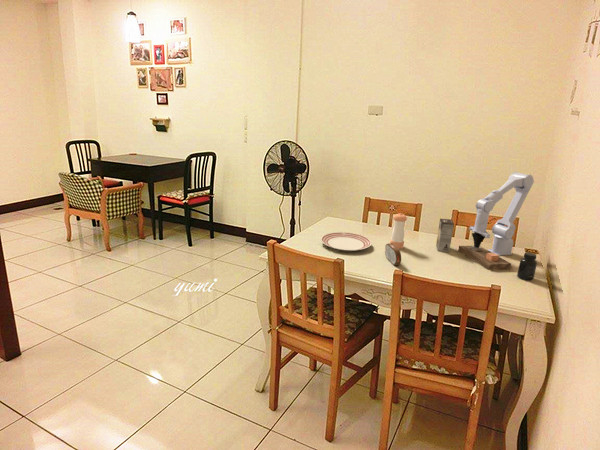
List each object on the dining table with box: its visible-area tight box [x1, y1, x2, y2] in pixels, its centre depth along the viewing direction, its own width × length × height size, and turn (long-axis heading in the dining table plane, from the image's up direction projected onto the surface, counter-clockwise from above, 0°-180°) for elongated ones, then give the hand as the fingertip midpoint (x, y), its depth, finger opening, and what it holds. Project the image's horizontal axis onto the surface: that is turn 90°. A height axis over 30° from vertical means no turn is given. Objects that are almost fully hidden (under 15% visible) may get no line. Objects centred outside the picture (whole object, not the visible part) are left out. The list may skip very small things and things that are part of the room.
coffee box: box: [435, 218, 455, 253], centre depth 215 cm, size 9×6×16 cm
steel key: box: [470, 245, 483, 252], centre depth 209 cm, size 4×4×3 cm
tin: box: [384, 242, 402, 266], centre depth 194 cm, size 15×3×8 cm, turn 9°
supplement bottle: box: [516, 251, 538, 282], centre depth 182 cm, size 7×7×12 cm
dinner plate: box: [320, 231, 372, 252], centre depth 215 cm, size 27×27×3 cm
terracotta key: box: [486, 252, 500, 261], centre depth 197 cm, size 4×4×3 cm
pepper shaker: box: [389, 212, 408, 250], centre depth 215 cm, size 7×7×19 cm
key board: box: [457, 245, 512, 271], centre depth 204 cm, size 12×26×3 cm, turn 11°
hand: (476, 246), depth 209 cm, fingers closed, pressing on steel key
